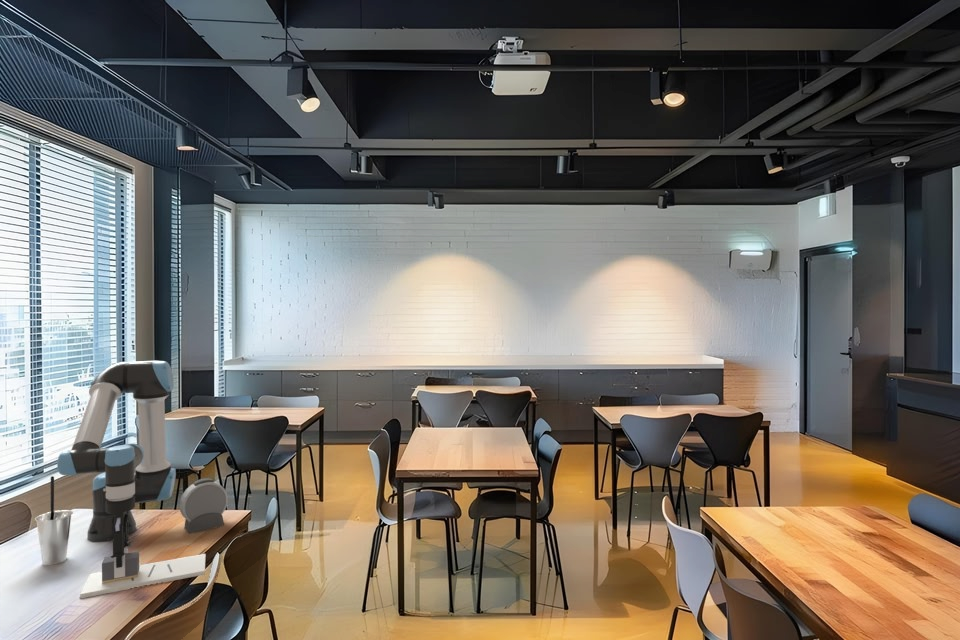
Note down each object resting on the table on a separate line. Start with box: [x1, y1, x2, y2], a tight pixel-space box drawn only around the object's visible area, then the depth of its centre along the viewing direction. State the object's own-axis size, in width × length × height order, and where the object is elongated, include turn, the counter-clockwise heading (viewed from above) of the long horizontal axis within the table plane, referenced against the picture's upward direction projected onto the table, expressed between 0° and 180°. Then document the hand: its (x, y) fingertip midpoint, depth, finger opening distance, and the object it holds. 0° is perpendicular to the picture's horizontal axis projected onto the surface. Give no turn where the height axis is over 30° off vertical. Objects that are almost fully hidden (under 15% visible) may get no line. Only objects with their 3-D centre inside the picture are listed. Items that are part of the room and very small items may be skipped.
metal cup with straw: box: [34, 476, 74, 566], centre depth 180 cm, size 11×11×30 cm
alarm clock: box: [179, 477, 229, 534], centre depth 210 cm, size 16×10×18 cm, turn 133°
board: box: [79, 553, 207, 599], centre depth 169 cm, size 14×32×1 cm, turn 116°
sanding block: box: [101, 550, 140, 583], centre depth 166 cm, size 5×9×6 cm, turn 116°
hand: (121, 572), depth 166 cm, fingers closed on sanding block, 5 cm apart
